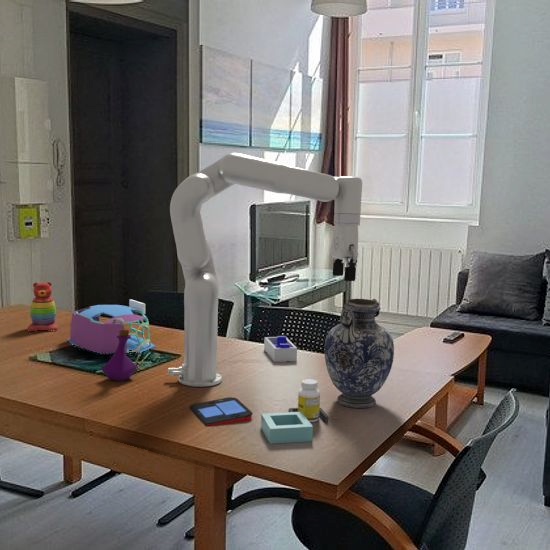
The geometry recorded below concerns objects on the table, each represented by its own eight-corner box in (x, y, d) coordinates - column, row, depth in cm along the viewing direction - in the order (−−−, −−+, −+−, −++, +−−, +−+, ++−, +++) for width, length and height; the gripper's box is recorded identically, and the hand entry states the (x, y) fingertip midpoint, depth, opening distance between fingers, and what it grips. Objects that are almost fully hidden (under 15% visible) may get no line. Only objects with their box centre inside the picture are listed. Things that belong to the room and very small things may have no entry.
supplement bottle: (296, 415, 172) (297, 378, 171) (317, 415, 173) (319, 378, 171) (298, 423, 167) (300, 384, 165) (320, 423, 167) (322, 384, 166)
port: (269, 443, 153) (270, 428, 153) (260, 427, 163) (261, 413, 162) (312, 441, 155) (312, 426, 155) (300, 425, 165) (301, 411, 165)
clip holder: (274, 362, 221) (274, 348, 220) (264, 349, 236) (264, 337, 235) (296, 361, 222) (297, 347, 222) (285, 349, 237) (285, 336, 237)
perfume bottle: (137, 377, 200) (137, 317, 197) (122, 384, 193) (121, 322, 190) (117, 373, 203) (117, 314, 200) (101, 380, 196) (100, 319, 193)
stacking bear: (26, 332, 251) (25, 284, 248) (30, 326, 261) (29, 280, 258) (56, 331, 253) (56, 284, 251) (59, 325, 263) (58, 280, 260)
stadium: (57, 339, 243) (56, 299, 241) (118, 330, 258) (118, 293, 256) (102, 360, 217) (101, 317, 215) (166, 350, 232) (167, 309, 230)
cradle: (294, 424, 166) (295, 418, 166) (287, 413, 173) (287, 408, 173) (328, 422, 168) (328, 416, 168) (319, 412, 175) (320, 406, 175)
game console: (188, 409, 176) (188, 400, 175) (234, 403, 181) (235, 395, 180) (205, 428, 163) (205, 419, 162) (255, 422, 168) (255, 413, 167)
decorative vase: (341, 385, 198) (347, 291, 193) (402, 398, 188) (409, 299, 184) (307, 405, 179) (312, 302, 175) (372, 421, 170) (379, 312, 166)
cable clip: (272, 352, 234) (272, 335, 233) (285, 352, 234) (285, 336, 233) (275, 362, 222) (275, 344, 221) (288, 362, 222) (289, 344, 221)
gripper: (324, 217, 202) (321, 273, 205) (345, 221, 186) (341, 283, 188) (348, 217, 204) (345, 273, 207) (370, 222, 188) (367, 283, 190)
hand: (343, 278), depth 197 cm, fingers open, 9 cm apart
